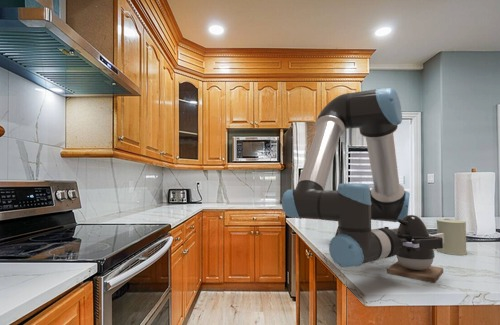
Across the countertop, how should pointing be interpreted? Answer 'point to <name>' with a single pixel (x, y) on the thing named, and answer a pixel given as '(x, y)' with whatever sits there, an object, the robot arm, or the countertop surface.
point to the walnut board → (416, 272)
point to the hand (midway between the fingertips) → (421, 234)
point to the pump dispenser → (408, 256)
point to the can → (452, 236)
